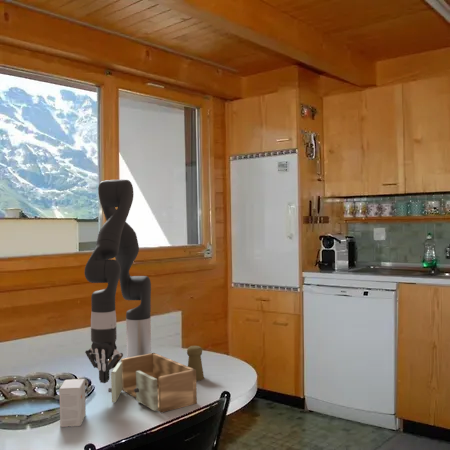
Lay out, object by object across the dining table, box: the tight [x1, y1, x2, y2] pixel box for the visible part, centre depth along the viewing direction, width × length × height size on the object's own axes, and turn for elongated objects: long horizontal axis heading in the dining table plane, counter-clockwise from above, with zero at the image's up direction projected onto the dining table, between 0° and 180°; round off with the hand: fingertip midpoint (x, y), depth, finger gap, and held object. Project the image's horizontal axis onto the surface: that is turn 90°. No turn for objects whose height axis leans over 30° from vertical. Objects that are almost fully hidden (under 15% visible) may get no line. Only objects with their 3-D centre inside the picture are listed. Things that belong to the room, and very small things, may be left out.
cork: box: [186, 345, 205, 382], centre depth 183 cm, size 6×6×11 cm
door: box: [107, 361, 123, 403], centre depth 165 cm, size 12×2×9 cm, turn 1°
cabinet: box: [120, 352, 198, 414], centre depth 164 cm, size 26×15×10 cm, turn 36°
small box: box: [58, 378, 87, 428], centre depth 146 cm, size 8×6×10 cm
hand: (104, 382), depth 161 cm, fingers closed
